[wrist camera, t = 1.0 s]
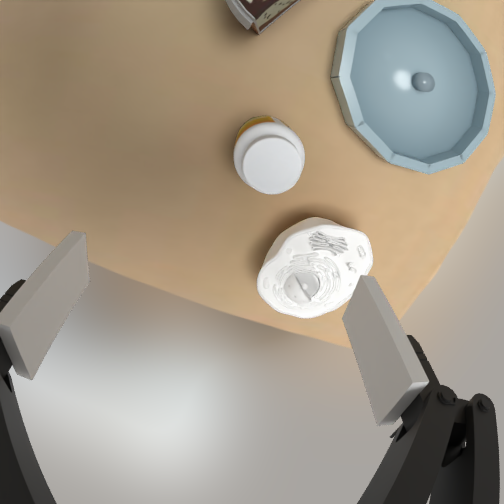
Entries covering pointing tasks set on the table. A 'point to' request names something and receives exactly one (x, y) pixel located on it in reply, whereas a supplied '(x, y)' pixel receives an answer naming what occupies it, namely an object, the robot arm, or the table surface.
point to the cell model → (313, 267)
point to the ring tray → (414, 83)
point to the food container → (259, 12)
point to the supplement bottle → (268, 155)
